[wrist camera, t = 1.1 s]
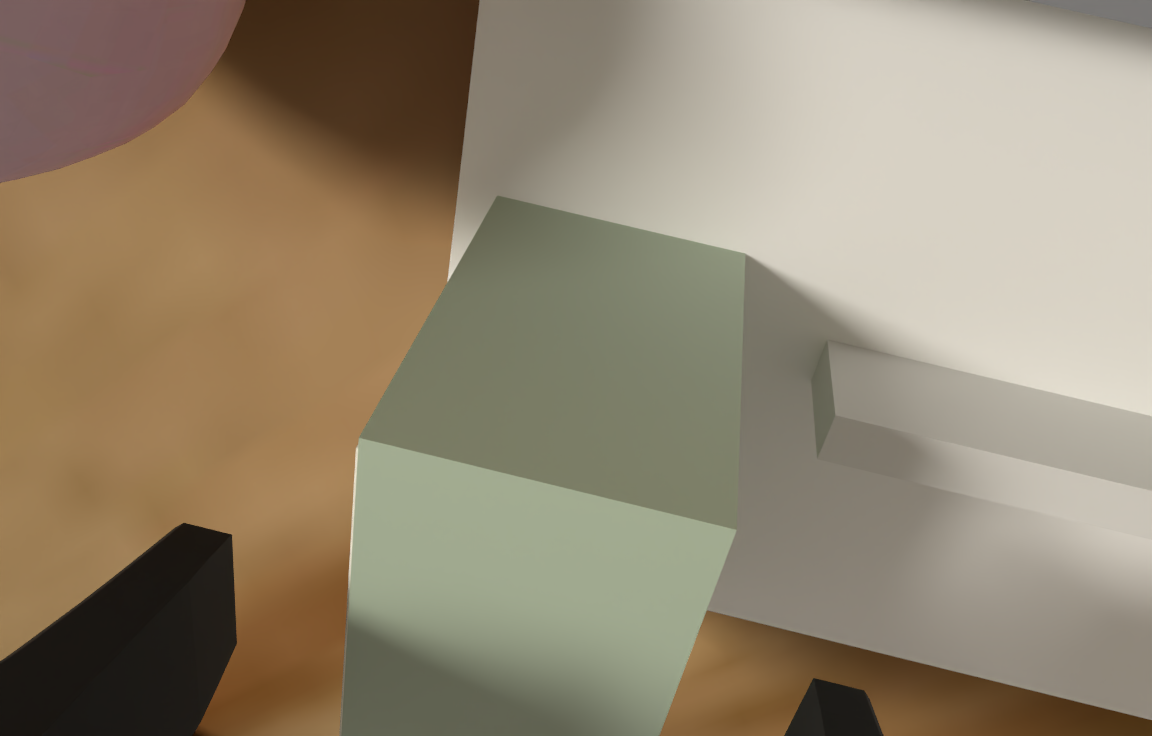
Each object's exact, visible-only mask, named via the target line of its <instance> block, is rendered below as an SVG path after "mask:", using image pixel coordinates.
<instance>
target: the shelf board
mask: <svg viewBox="0 0 1152 736" xmlns="http://www.w3.org/2000/svg"><path fill="white" fill-rule="evenodd" d="M497 196H502V197H506V198H510V199H515V200H519V201H523V202H527V203H532V204H536V205H540V206H545V207H549V208H553V209H557V210H562V211H566V212H570V213H574V214H579V215H583V216H587V217H592V218H596V219H600V220H604V221H609V222H613V223H617V224H621V225H626V226H630V227H634V228H639V229H643V230H647V231H651V232H656V233H660V234H664V235H668V236H673V237H677V238H681V239H686V240H690V241H694V242H698V243H703V244H707V245H711V246H715V247H720V248H724V249H728V250H733V251H737V252H741V253H745V283H744V316H743V348H742V380H741V413H740V445H739V477H738V509H737V531H736V534H735V536H734V539H733V542H732V544H731V547H730V549H729V552H728V555H727V557H726V560H725V563H724V565H723V568H722V571H721V573H720V576H719V579H718V581H717V584H716V587H715V589H714V592H713V594H712V597H711V600H710V602H709V605H708V608H707V610H708V611H712V612H716V613H720V614H724V615H728V616H732V617H736V618H741V619H745V620H749V621H753V622H757V623H761V624H765V625H769V626H773V627H777V628H781V629H785V630H789V631H793V632H797V633H801V634H805V635H809V636H813V637H817V638H821V639H826V640H830V641H834V642H838V643H842V644H846V645H850V646H854V647H858V648H862V649H866V650H870V651H874V652H878V653H882V654H886V655H890V656H894V657H898V658H902V659H906V660H910V661H915V662H919V663H923V664H927V665H931V666H935V667H939V668H943V669H947V670H951V671H955V672H959V673H963V674H967V675H971V676H975V677H979V678H983V679H987V680H991V681H995V682H1000V683H1004V684H1008V685H1012V686H1016V687H1020V688H1024V689H1028V690H1032V691H1036V692H1040V693H1044V694H1048V695H1052V696H1056V697H1060V698H1064V699H1068V700H1072V701H1076V702H1080V703H1084V704H1089V705H1093V706H1097V707H1101V708H1105V709H1109V710H1113V711H1117V712H1121V713H1125V714H1129V715H1133V716H1137V717H1141V718H1145V719H1149V720H1152V28H1147V27H1143V26H1138V25H1134V24H1129V23H1125V22H1120V21H1116V20H1111V19H1107V18H1102V17H1098V16H1093V15H1089V14H1084V13H1080V12H1075V11H1071V10H1066V9H1062V8H1058V7H1053V6H1049V5H1044V4H1040V3H1035V2H1031V1H1026V0H480V2H479V10H478V19H477V28H476V37H475V45H474V54H473V63H472V72H471V81H470V89H469V98H468V107H467V116H466V125H465V133H464V142H463V151H462V160H461V168H460V177H459V186H458V195H457V204H456V212H455V221H454V230H453V239H452V247H451V256H450V265H449V274H448V281H449V279H450V277H451V276H452V274H453V272H454V270H455V269H456V267H457V265H458V263H459V262H460V260H461V258H462V256H463V255H464V253H465V251H466V249H467V248H468V246H469V244H470V242H471V241H472V239H473V237H474V235H475V234H476V232H477V230H478V228H479V227H480V225H481V223H482V221H483V220H484V218H485V216H486V214H487V213H488V211H489V209H490V207H491V205H492V204H493V202H494V200H495V198H496V197H497Z"/></svg>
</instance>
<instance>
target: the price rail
mask: <svg viewBox="0 0 1152 736" xmlns="http://www.w3.org/2000/svg"><path fill="white" fill-rule="evenodd" d="M1026 1H1031V2H1035V3H1040V4H1044V5H1049V6H1053V7H1058V8H1062V9H1066V10H1071V11H1075V12H1080V13H1084V14H1089V15H1093V16H1098V17H1102V18H1107V19H1111V20H1116V21H1120V22H1125V23H1129V24H1134V25H1138V26H1143V27H1147V28H1152V0H1026Z"/></svg>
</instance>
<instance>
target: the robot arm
mask: <svg viewBox="0 0 1152 736" xmlns="http://www.w3.org/2000/svg"><path fill="white" fill-rule="evenodd" d="M236 644H237V638H236V616H235V593H234V571H233V549H232V535H231V534H227V533H223V532H219V531H215V530H211V529H207V528H203V527H199V526H194V525H190V524H186V523H183V524H181V525H179V526H177V527H175V528H174V529H173V530H172V531H170V532H169V533H168V534H167V535H166V536H164V537H163V538H162V539H161V540H159V541H158V542H157V543H156V544H154V545H153V546H152V547H151V548H149V549H148V550H147V551H146V552H144V553H143V554H142V555H141V556H139V557H138V558H137V559H136V560H134V561H133V562H132V563H131V564H129V565H128V566H127V567H126V568H124V569H123V570H122V571H120V572H119V573H118V574H117V575H115V576H114V577H113V578H112V579H110V580H109V581H108V582H106V583H105V584H104V585H103V586H101V587H100V588H99V589H97V590H96V591H95V592H94V593H92V594H91V595H90V596H88V597H87V598H86V599H85V600H83V601H82V602H81V603H79V604H78V605H77V606H75V607H74V608H73V609H71V610H70V611H69V612H67V613H66V614H65V615H63V616H62V617H61V618H59V619H58V620H56V621H55V622H54V623H52V624H51V625H50V626H48V627H47V628H46V629H44V630H43V631H42V632H40V633H39V634H38V635H36V636H35V637H34V638H32V639H31V640H29V641H28V642H27V643H25V644H24V645H23V646H21V647H20V648H19V649H17V650H16V651H14V652H13V653H12V654H10V655H9V656H7V657H6V658H5V659H3V660H2V661H0V736H193V734H194V732H195V730H196V729H197V727H198V725H199V724H200V722H201V720H202V718H203V716H204V714H205V712H206V709H207V707H208V705H209V703H210V701H211V699H212V697H213V695H214V693H215V690H216V688H217V686H218V684H219V682H220V680H221V677H222V675H223V673H224V671H225V668H226V666H227V664H228V662H229V659H230V657H231V655H232V653H233V650H234V648H235V646H236ZM784 736H883V734H882V731H881V728H880V726H879V723H878V721H877V718H876V715H875V713H874V710H873V707H872V705H871V702H870V699H869V698H868V696H867V695H866V693H865V691H864V690H860V689H856V688H852V687H848V686H843V685H839V684H835V683H831V682H827V681H823V680H819V679H815V678H813V680H812V682H811V684H810V686H809V688H808V690H807V692H806V694H805V696H804V698H803V700H802V702H801V704H800V706H799V708H798V710H797V712H796V714H795V716H794V718H793V720H792V722H791V724H790V726H789V728H788V729H787V731H786V733H785V735H784Z"/></svg>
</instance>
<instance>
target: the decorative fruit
mask: <svg viewBox="0 0 1152 736" xmlns="http://www.w3.org/2000/svg"><path fill="white" fill-rule="evenodd" d="M245 1H246V0H0V182H5V181H11V180H16V179H20V178H24V177H28V176H32V175H36V174H40V173H44V172H48V171H52V170H56V169H60V168H63V167H65V166H68V165H71V164H74V163H77V162H79V161H82V160H85V159H88V158H91V157H94V156H96V155H98V154H101V153H103V152H106V151H108V150H111V149H113V148H116V147H118V146H121V145H123V144H126V143H127V142H129V141H131V140H133V139H134V138H136V137H138V136H140V135H141V134H143V133H145V132H147V131H148V130H150V129H152V128H153V127H155V126H156V125H157V124H159V123H160V122H161V121H163V120H164V119H166V118H167V117H168V116H170V115H171V114H172V113H174V112H175V111H176V110H178V109H179V108H180V107H182V106H183V105H184V104H185V103H186V102H187V101H188V99H189V98H190V97H191V96H192V95H193V93H194V92H195V91H196V90H197V89H198V87H199V86H200V85H201V84H202V83H203V81H204V80H205V79H206V78H207V77H208V75H209V74H210V73H211V72H212V70H213V68H214V67H215V65H216V64H217V62H218V61H219V59H220V57H221V56H222V54H223V53H224V51H225V50H226V47H227V45H228V43H229V41H230V38H231V36H232V34H233V31H234V29H235V27H236V25H237V22H238V20H239V18H240V16H241V13H242V11H243V8H244V5H245Z"/></svg>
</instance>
